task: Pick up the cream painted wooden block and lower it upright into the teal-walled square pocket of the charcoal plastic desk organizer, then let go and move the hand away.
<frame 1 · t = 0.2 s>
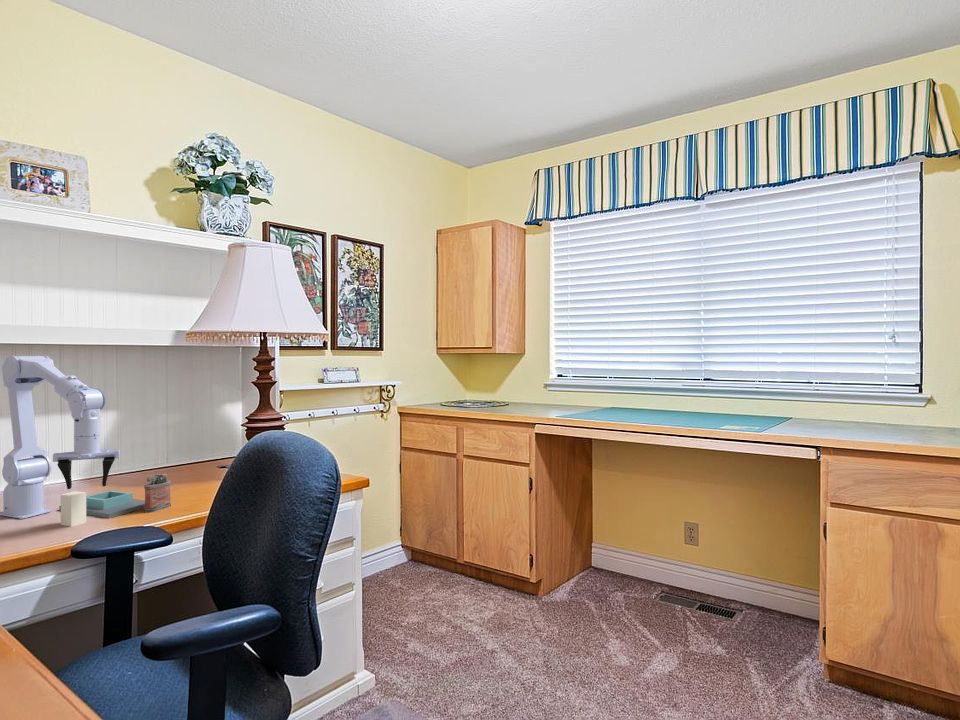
hand: (87, 486, 157), 10 cm above the table, fingers open, 7 cm apart
lighter: (157, 509, 173), on the table
organizer: (107, 507, 173), on the table
cream block: (73, 523, 158), on the table
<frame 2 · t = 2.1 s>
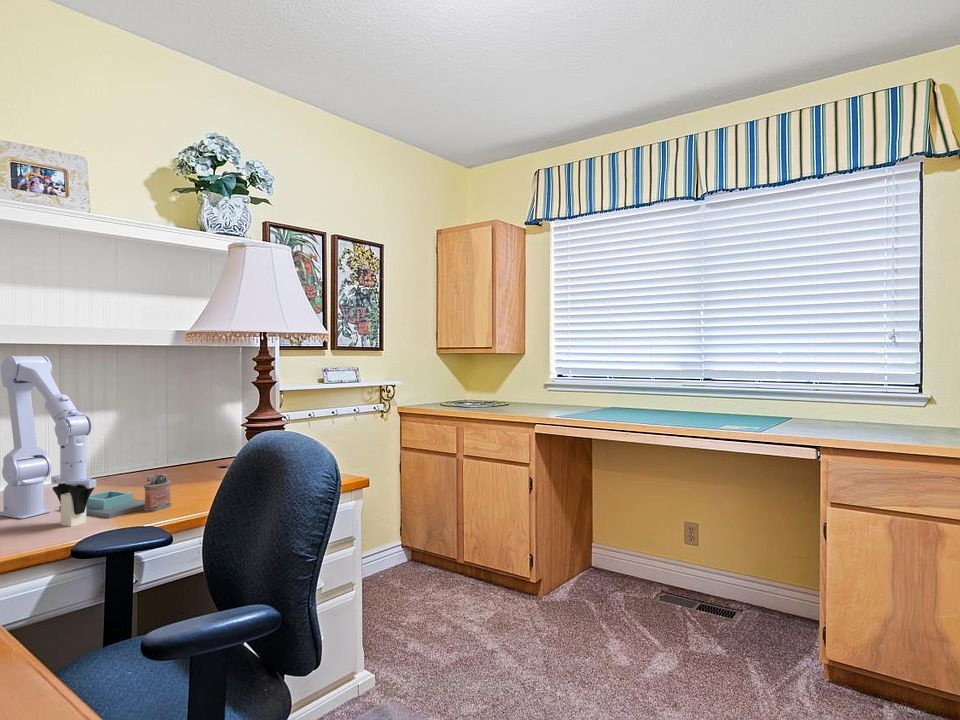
hand: (73, 512, 158), 3 cm above the table, fingers closed on cream block, 4 cm apart
cream block: (73, 523, 158), on the table, touching gripper
everything else where it was.
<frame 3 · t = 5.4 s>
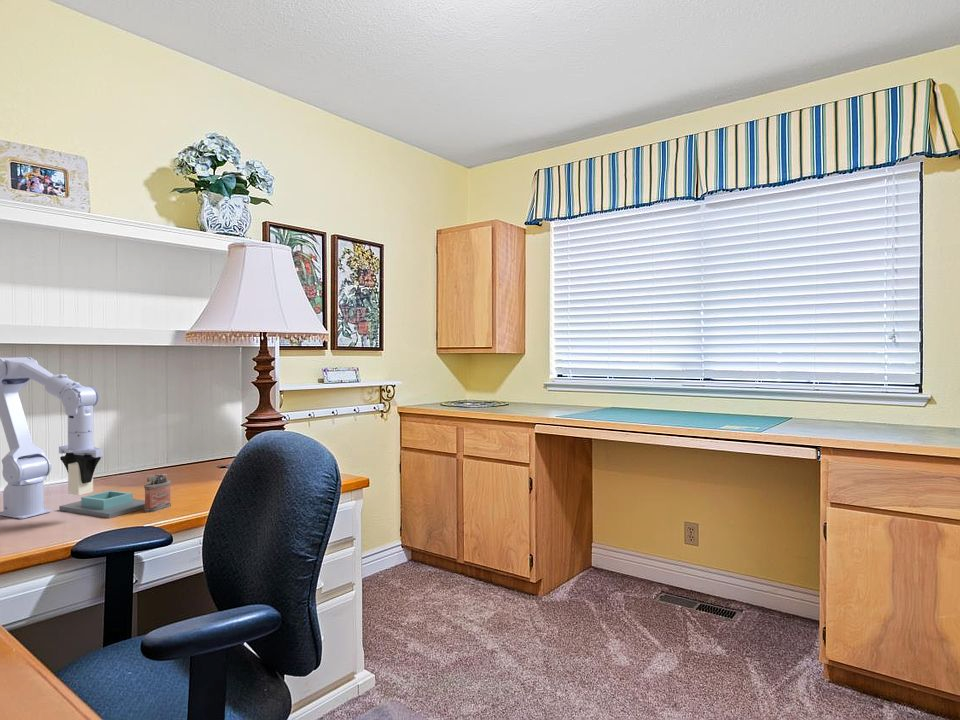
hand: (80, 481, 161), 10 cm above the table, fingers closed on cream block, 4 cm apart
cream block: (80, 492, 161), point 7 cm above the table, touching gripper
everything else where it was.
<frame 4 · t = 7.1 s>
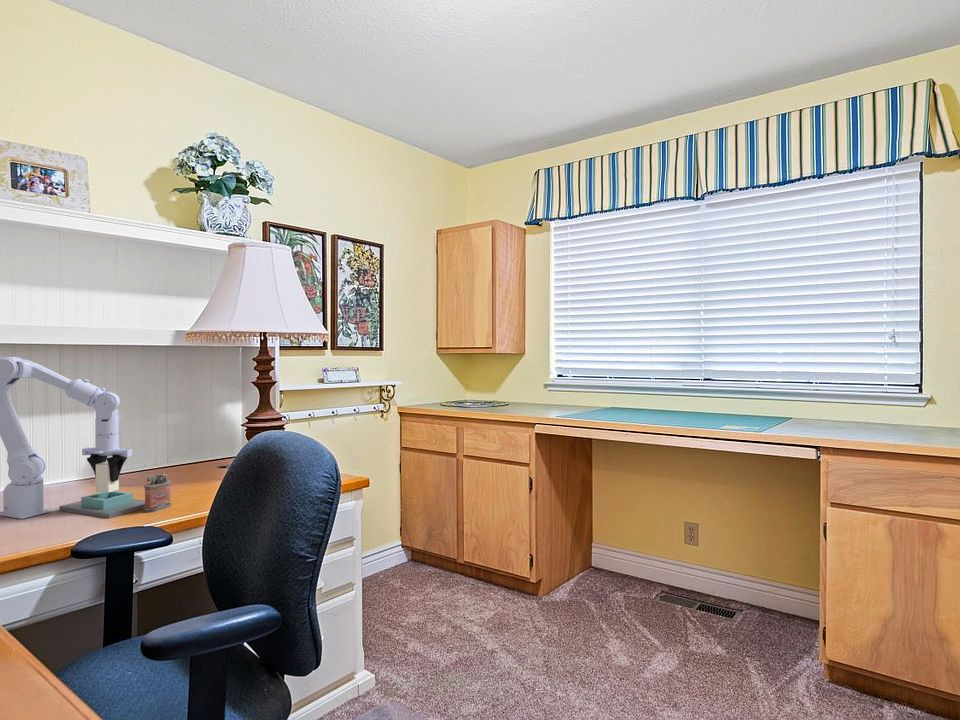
hand: (107, 480, 173), 8 cm above the table, fingers closed on cream block, 4 cm apart
cream block: (107, 490, 173), point 5 cm above the table, touching gripper
everything else where it was.
when the fingers open (5 cm above the table, at t = 8.5 s): cream block stays where it is, resting on organizer.
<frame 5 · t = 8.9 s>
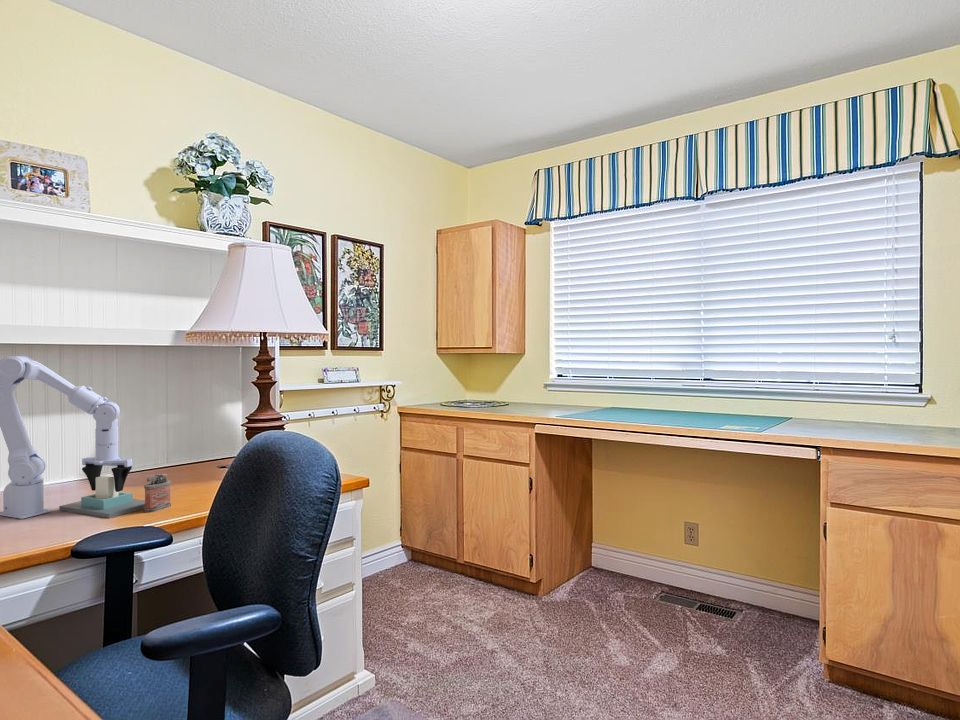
hand: (107, 490, 173), 5 cm above the table, fingers open, 7 cm apart
cream block: (107, 503, 173), point 1 cm above the table, touching organizer
everything else where it was.
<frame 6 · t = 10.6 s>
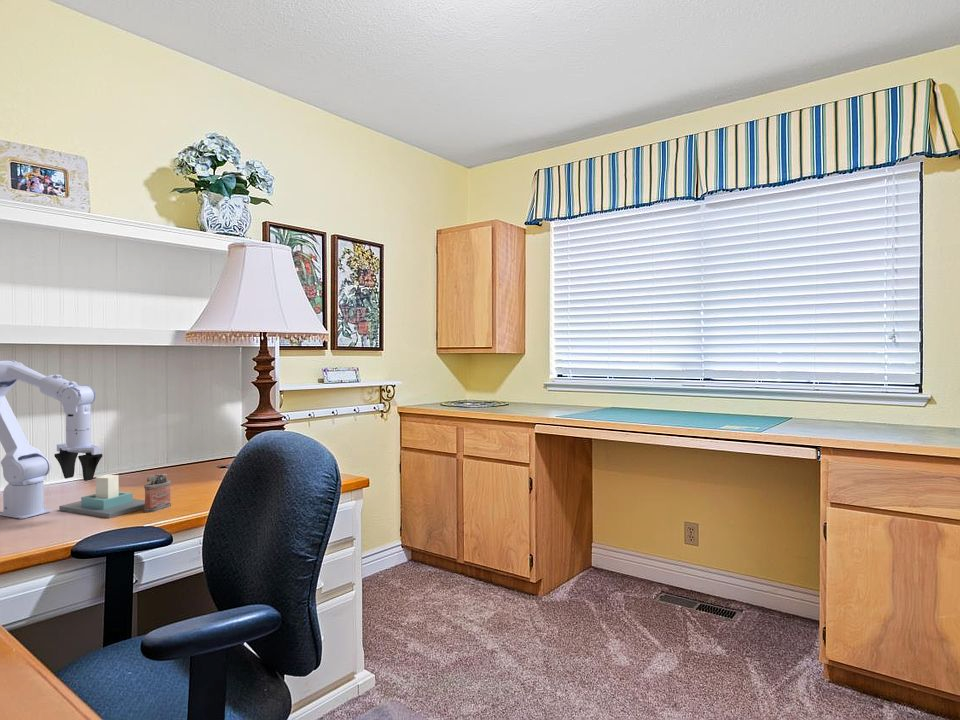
hand: (78, 478, 164), 10 cm above the table, fingers open, 7 cm apart
nothing on the table moved.
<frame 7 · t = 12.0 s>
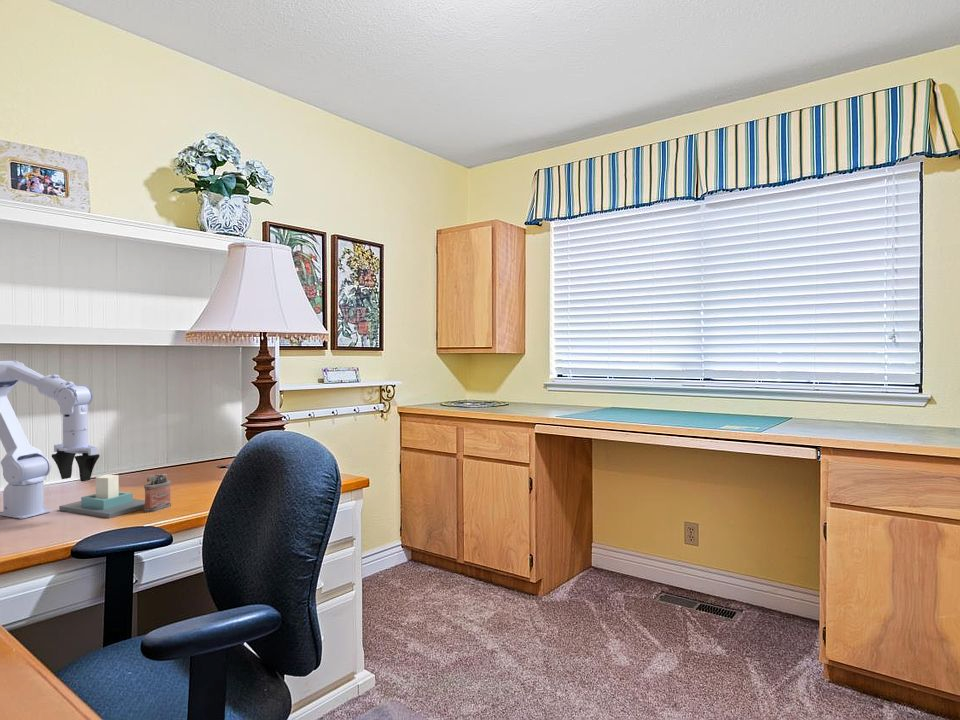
hand: (75, 479, 164), 10 cm above the table, fingers open, 7 cm apart
nothing on the table moved.
at the end: cream block 0.0 cm off-centre on the organizer, point 1.2 cm above the organizer's base; cream block tilted 0°; the gripper is holding nothing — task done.
